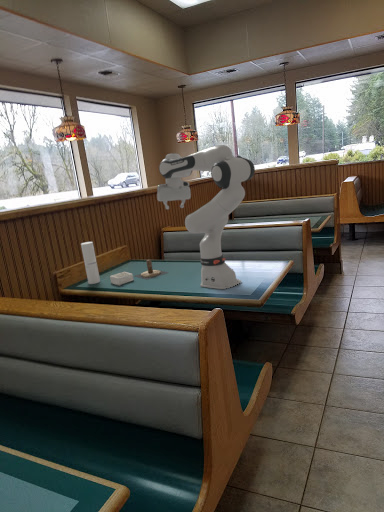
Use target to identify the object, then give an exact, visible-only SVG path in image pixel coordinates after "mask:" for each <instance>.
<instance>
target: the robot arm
mask: <svg viewBox="0 0 384 512" xmlns="http://www.w3.org/2000/svg"><path fill="white" fill-rule="evenodd" d="M158 170H159V174H160V175H161V176H162V177H163V178H164V179H165V183H162V184H161V183H159V185H157V187H156V191H157V194H156V199H157V201H158V202H162V203H163V205H164V207H165V210H170V206H169V205H168V202H171V201H172V202H173V201H181V203H180V204H179V208H180V209H183V208H184V207H185V205H184V204H186V200H190V199H191V196H192V194H191V188H190V182H188V181H185V180H184V179H183V180H182V178H188V177H190V176H191V175H192V173H193V171H197V172H200V171H201V172H210V173H211V174H210V175H211V178H212V180H213V182H214V184H215V185H216V186H217V187H218V188H219V189H221V190H220V191H219V192H218V193H216V195H215V196H214V197H213V198H212V199H211V200H210V201H209V202H207V203H206V204H204V205H202V206H200V208H198V209H196V210H195V211H194V212H191V213H189V214H187V215H186V217H185V220H184V225H185V228H186V230H187V231H188V232H189V233H190V234H202V233H204V236H203V238H201V240H200V242H199V252H200V258H199V259H200V264H201V270H200V274H201V275H200V280H201V281H200V284H199V285H200V287H201V288H209V289H217V290H227V289H230V287H231V288H234V287H236V286H238V285H240V284H241V283H242V280H241V279H238V278H237V275H236V272H235V271H234V269H233V268H231V267H230V266H229V265H228V264H227V263H226V257H224V256H223V254H222V241H221V240H222V234H223V231H224V228H225V226H226V225H227V224H228V222H229V215H230V214H231V213H233V212H234V210H236V209H237V208H238V207H239V206H240V204H241V203H242V201H243V200H244V198H245V197H246V196H245V195H246V191H245V188H244V187H243V186H242V182H245V183H246V182H248V181H249V180H251V179H252V178H253V177H254V175H255V171H256V169H255V165H254V163H253V161H252V160H250V159H248V158H246V157H242V156H241V155H237V156H236V157H235V156H234V155H233V151H232V149H231V148H230V147H229V146H227V145H225V144H218V145H213V146H209V147H206V148H204V149H201V150H199V151H196V152H194V153H192V154H189V155H187V156H183V157H182V156H181V155H180V154H179V153H177V152H173V153H171V152H170V153H168V154H166V155H165V158H164V159H162V161H161V162H160V163H159V166H158ZM240 282H241V283H240ZM239 283H240V284H239ZM237 284H238V285H237ZM235 285H236V286H235ZM233 286H234V287H233ZM226 288H227V289H226Z"/></svg>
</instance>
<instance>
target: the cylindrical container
mask: <svg viewBox="0 0 384 512" xmlns="http://www.w3.org/2000/svg"><path fill="white" fill-rule="evenodd" d="M80 246H81V252H82V257H83V261H84V267H85V272H86V276H87V277H86V278H87V282H88V283H87V284H89V285H93V284H94V285H95V284H99V283H100V282H101V279H100V273H99V268H98V263H97V262H98V261H97V257H96V251H95V246H94V242H93V241H86V242H81V243H80Z"/></svg>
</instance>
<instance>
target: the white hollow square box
mask: <svg viewBox="0 0 384 512" xmlns="http://www.w3.org/2000/svg"><path fill="white" fill-rule="evenodd" d="M109 279H110V283H111V284H112V285H115V286H122V285H124V284H127V283H130V282H133V281H134V275H133V273H130V272H127V271H123V272H118V273H115V274H112V275H110V276H109Z"/></svg>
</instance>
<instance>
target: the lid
mask: <svg viewBox="0 0 384 512" xmlns="http://www.w3.org/2000/svg"><path fill="white" fill-rule="evenodd" d="M145 262H146V268H147V270H146V271H143V272H141V273H140V274H141V276H142V277H153V276H157V275H159V274H160V273H161V272H160V271H161V270H159V269H154V268H153V262H152V260H151V259H146V261H145ZM157 277H158V276H157Z"/></svg>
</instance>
